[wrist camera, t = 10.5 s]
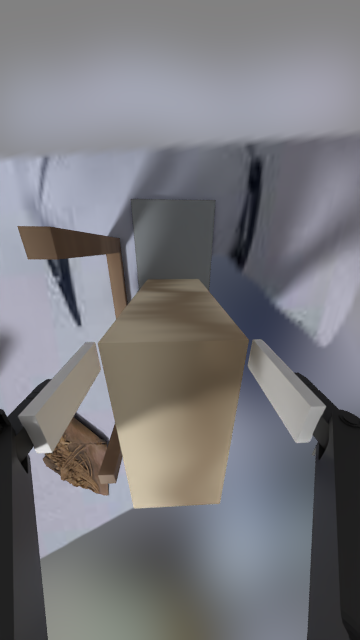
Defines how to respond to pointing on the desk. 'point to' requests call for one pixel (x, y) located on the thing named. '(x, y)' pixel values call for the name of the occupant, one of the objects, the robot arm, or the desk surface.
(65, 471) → the wooden fragment
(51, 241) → the rack
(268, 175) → the desk surface
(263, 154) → the desk surface
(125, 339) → the pale wooden block
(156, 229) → the felt mat
